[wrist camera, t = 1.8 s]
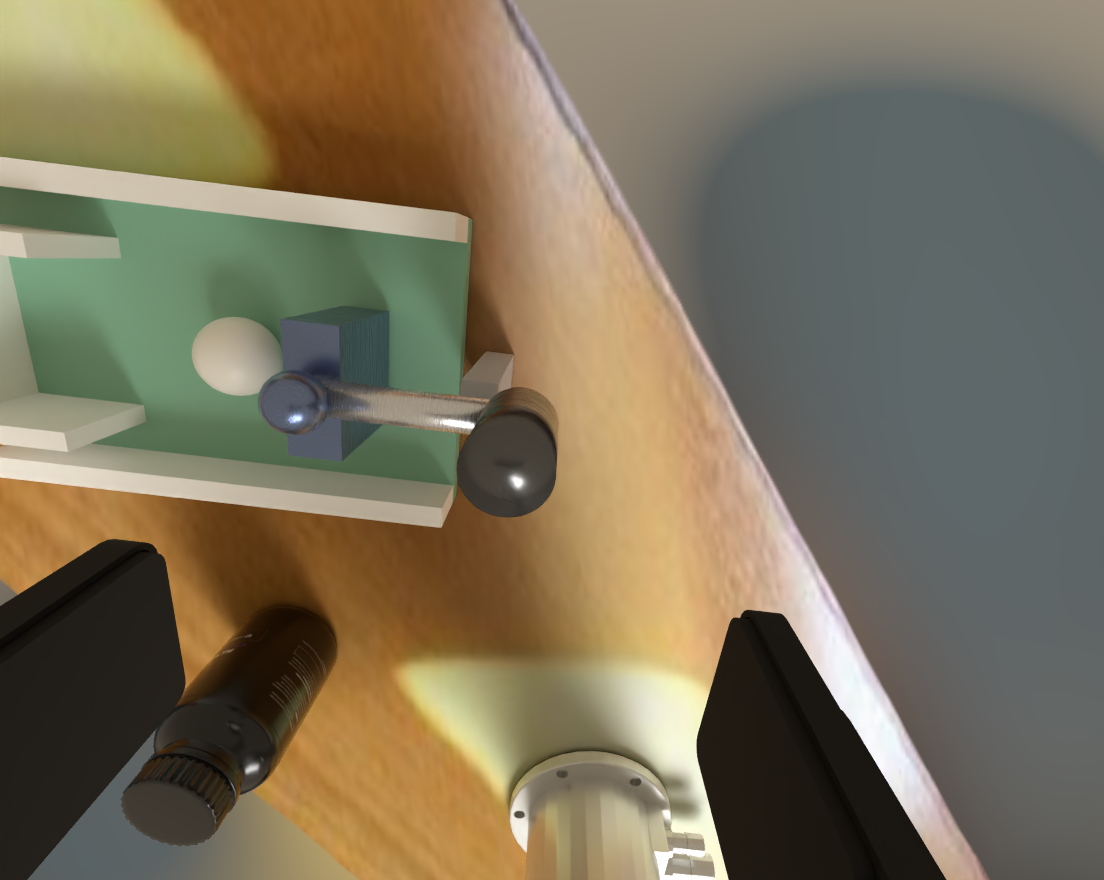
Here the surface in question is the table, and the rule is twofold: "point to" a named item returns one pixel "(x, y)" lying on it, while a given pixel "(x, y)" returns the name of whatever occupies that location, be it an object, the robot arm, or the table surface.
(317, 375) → the table football player
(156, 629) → the robot arm
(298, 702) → the supplement bottle
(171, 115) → the table surface
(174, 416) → the pitch
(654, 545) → the table surface
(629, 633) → the table surface
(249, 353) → the ball
